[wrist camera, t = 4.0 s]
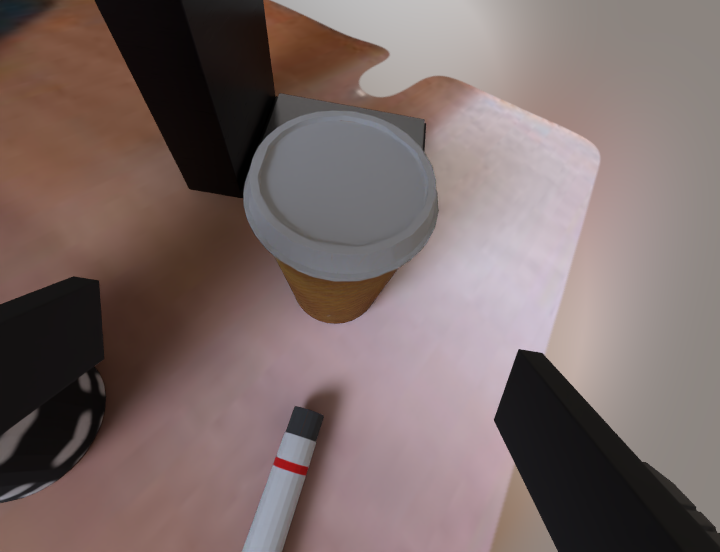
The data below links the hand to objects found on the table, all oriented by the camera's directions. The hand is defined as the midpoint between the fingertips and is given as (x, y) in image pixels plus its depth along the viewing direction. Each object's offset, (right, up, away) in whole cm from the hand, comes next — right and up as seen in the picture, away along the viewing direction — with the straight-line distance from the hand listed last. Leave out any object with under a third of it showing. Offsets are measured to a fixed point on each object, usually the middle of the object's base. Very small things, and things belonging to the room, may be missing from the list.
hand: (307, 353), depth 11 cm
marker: (-4, -13, +8) cm, 16 cm away
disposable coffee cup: (0, +2, +16) cm, 16 cm away
